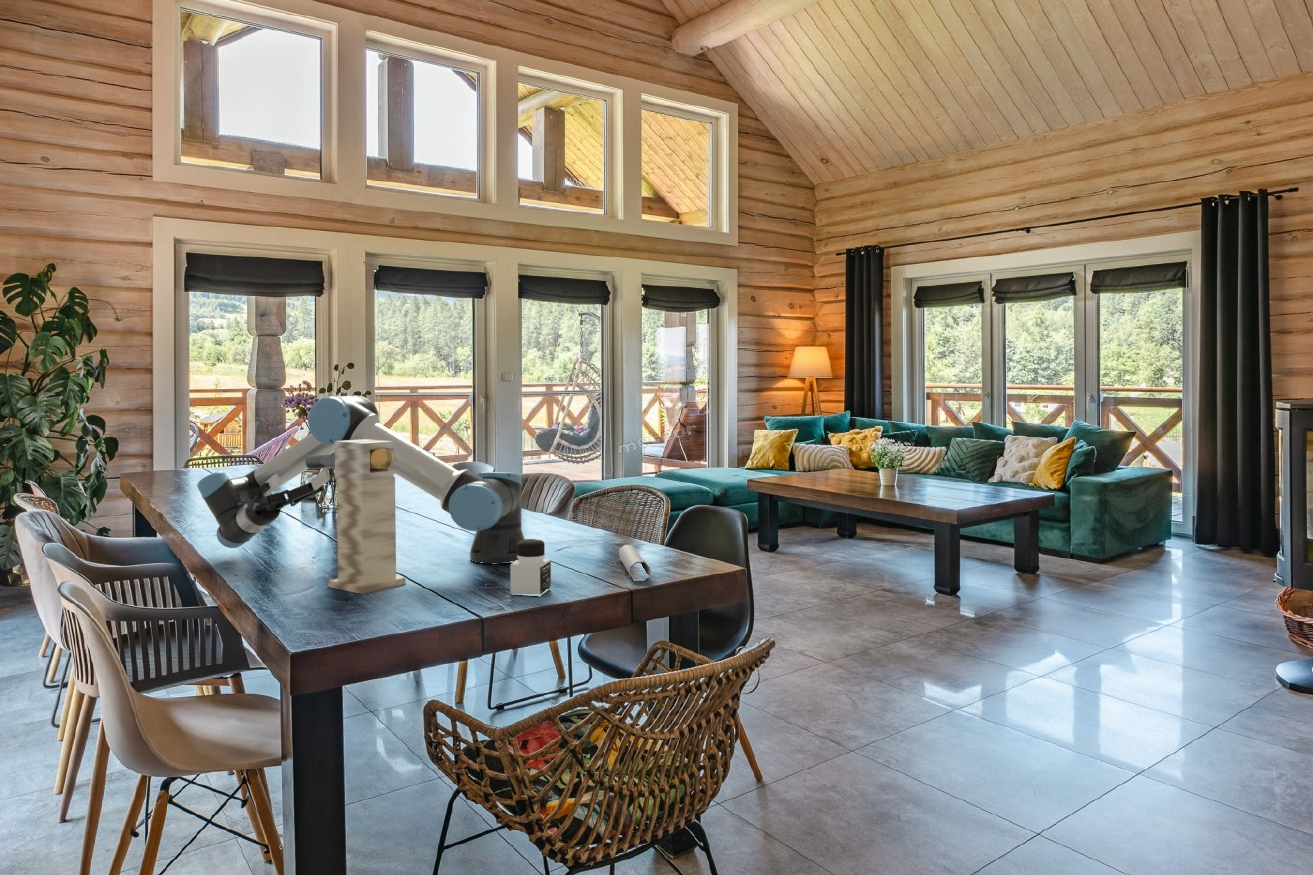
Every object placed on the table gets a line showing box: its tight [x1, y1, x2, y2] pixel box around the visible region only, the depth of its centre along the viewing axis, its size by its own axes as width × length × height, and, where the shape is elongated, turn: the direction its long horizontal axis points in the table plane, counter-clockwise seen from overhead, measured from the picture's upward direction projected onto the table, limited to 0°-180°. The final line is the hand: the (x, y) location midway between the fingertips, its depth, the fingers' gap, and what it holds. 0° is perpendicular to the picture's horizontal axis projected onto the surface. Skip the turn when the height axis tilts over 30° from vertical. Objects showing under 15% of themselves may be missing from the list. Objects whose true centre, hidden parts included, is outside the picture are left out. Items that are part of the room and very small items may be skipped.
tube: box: [618, 544, 651, 577], centre depth 221 cm, size 5×5×25 cm
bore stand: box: [327, 439, 407, 595], centre depth 201 cm, size 12×12×33 cm
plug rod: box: [305, 449, 392, 470], centre depth 204 cm, size 26×4×4 cm, turn 57°
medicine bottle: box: [509, 538, 552, 594], centre depth 197 cm, size 7×7×12 cm
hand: (303, 476), depth 213 cm, fingers open, 13 cm apart
